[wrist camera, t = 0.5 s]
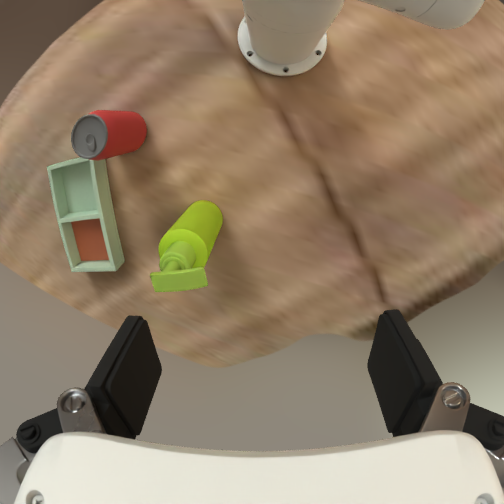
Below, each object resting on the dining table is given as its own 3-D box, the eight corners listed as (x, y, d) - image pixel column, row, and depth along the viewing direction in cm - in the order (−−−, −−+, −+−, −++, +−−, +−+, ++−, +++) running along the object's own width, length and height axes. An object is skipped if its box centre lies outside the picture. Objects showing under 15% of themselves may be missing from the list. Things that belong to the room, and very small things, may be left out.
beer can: (118, 158, 41) (76, 171, 30) (106, 121, 39) (62, 124, 28) (153, 143, 40) (117, 150, 29) (141, 104, 38) (102, 100, 27)
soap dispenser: (232, 233, 46) (211, 306, 27) (189, 238, 46) (146, 311, 28) (225, 196, 43) (197, 249, 25) (182, 203, 44) (128, 258, 26)
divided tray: (59, 162, 41) (46, 166, 38) (104, 151, 41) (92, 154, 37) (81, 263, 49) (71, 272, 46) (125, 261, 48) (116, 271, 45)
